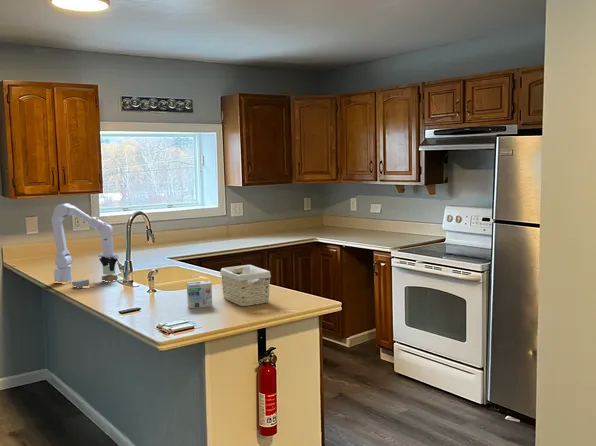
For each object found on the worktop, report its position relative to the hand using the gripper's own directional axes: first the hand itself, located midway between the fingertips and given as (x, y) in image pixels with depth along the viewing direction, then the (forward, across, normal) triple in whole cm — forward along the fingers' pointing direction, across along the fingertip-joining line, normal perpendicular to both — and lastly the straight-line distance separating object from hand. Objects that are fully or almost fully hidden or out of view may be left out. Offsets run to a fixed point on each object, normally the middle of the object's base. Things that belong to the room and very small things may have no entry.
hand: (109, 270), depth 325 cm
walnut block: (+6, 0, 0) cm, 6 cm away
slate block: (+6, +1, +18) cm, 19 cm away
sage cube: (+2, 0, 0) cm, 2 cm away
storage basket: (+6, -97, +1) cm, 98 cm away
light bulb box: (+6, -85, +19) cm, 87 cm away
